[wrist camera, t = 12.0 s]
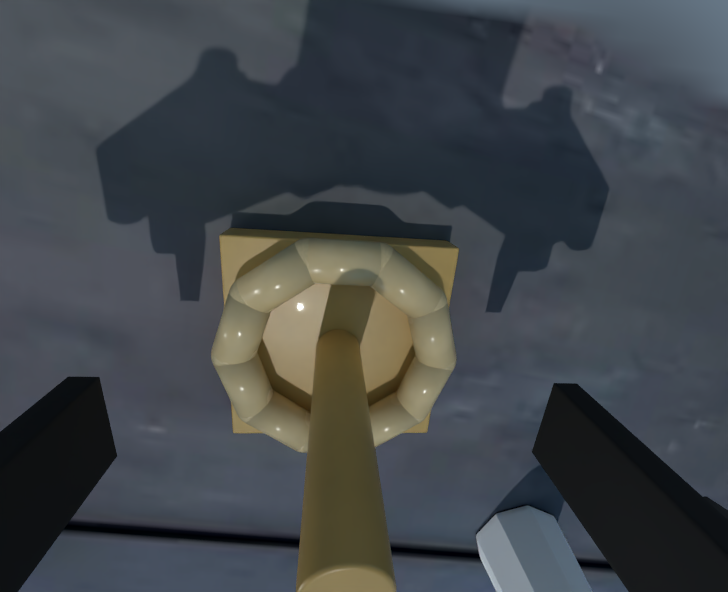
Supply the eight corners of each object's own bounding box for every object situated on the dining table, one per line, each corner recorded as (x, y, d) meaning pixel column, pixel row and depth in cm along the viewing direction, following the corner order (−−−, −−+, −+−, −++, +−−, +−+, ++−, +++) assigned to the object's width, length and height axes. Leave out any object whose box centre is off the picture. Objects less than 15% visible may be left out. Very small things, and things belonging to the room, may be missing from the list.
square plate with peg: (229, 227, 14) (-17, 380, 4) (447, 240, 15) (675, 388, 5) (240, 411, 17) (116, 749, 7) (419, 412, 18) (526, 710, 8)
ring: (209, 227, 12) (192, 236, 11) (468, 243, 13) (485, 253, 12) (225, 433, 15) (214, 462, 14) (433, 433, 17) (443, 459, 15)
